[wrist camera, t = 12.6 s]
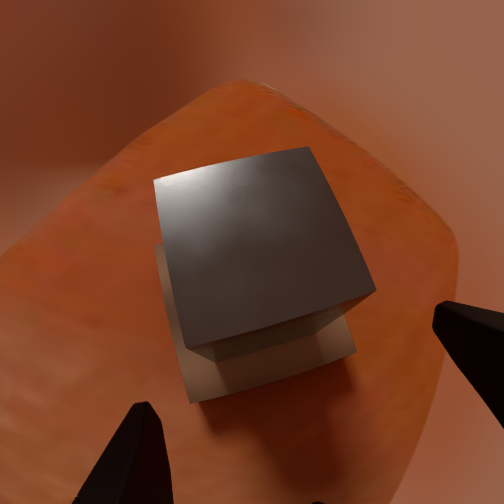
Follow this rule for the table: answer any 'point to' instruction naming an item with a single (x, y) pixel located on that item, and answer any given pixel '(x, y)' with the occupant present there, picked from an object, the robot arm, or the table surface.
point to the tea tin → (257, 253)
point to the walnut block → (250, 354)
